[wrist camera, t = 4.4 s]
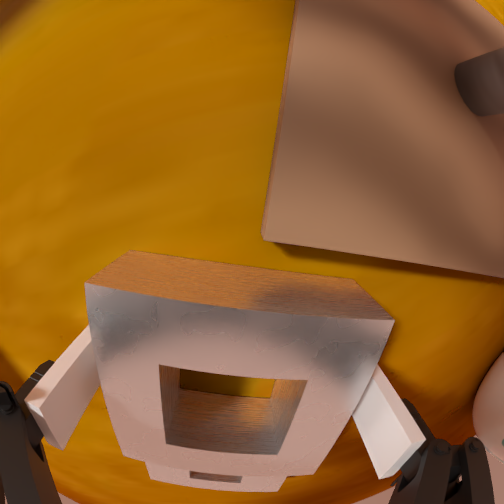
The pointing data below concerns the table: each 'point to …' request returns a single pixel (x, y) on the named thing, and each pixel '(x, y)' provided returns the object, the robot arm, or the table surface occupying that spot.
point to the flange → (230, 365)
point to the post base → (392, 133)
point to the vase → (491, 410)
